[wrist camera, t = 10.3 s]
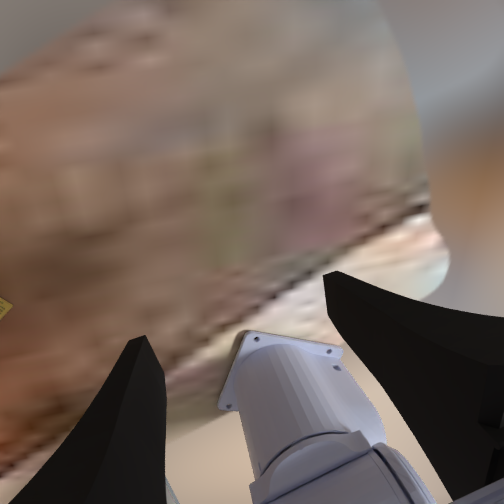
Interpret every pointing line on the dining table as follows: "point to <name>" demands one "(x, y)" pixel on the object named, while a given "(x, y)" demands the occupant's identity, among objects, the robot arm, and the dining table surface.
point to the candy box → (4, 307)
